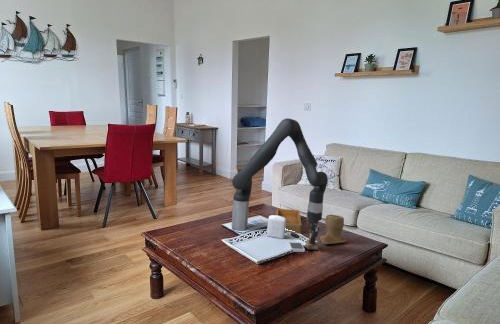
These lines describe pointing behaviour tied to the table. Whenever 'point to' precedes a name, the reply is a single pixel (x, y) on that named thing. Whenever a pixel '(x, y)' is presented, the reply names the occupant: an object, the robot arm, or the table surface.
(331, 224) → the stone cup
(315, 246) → the hand stamp
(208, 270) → the table surface
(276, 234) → the photo printer
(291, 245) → the ink pad
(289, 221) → the tray
